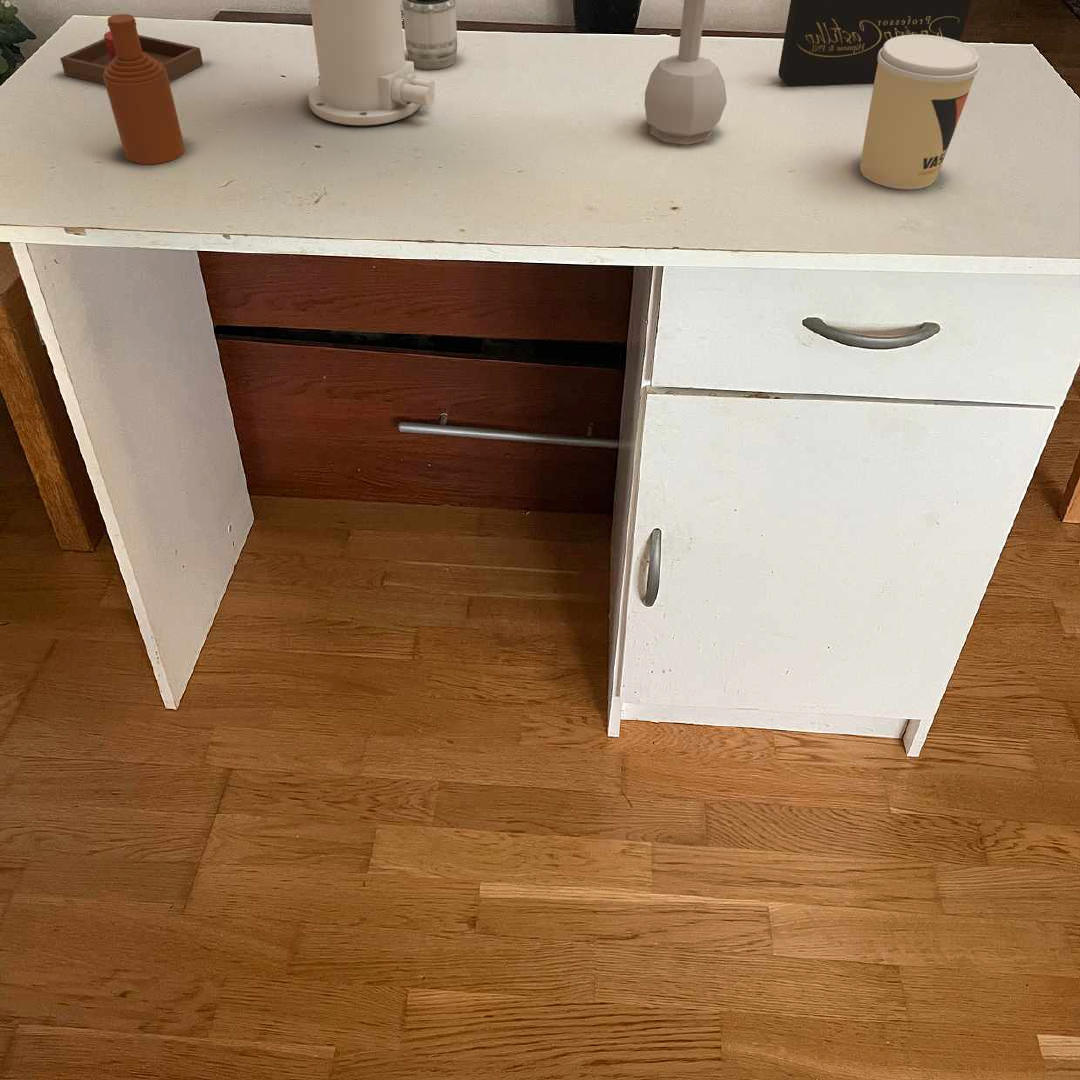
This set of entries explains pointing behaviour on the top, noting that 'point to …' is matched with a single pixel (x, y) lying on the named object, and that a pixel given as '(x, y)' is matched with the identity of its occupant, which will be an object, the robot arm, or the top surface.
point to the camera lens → (430, 32)
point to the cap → (110, 45)
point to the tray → (170, 54)
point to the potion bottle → (685, 87)
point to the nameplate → (857, 35)
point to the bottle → (141, 98)
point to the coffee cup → (915, 108)
